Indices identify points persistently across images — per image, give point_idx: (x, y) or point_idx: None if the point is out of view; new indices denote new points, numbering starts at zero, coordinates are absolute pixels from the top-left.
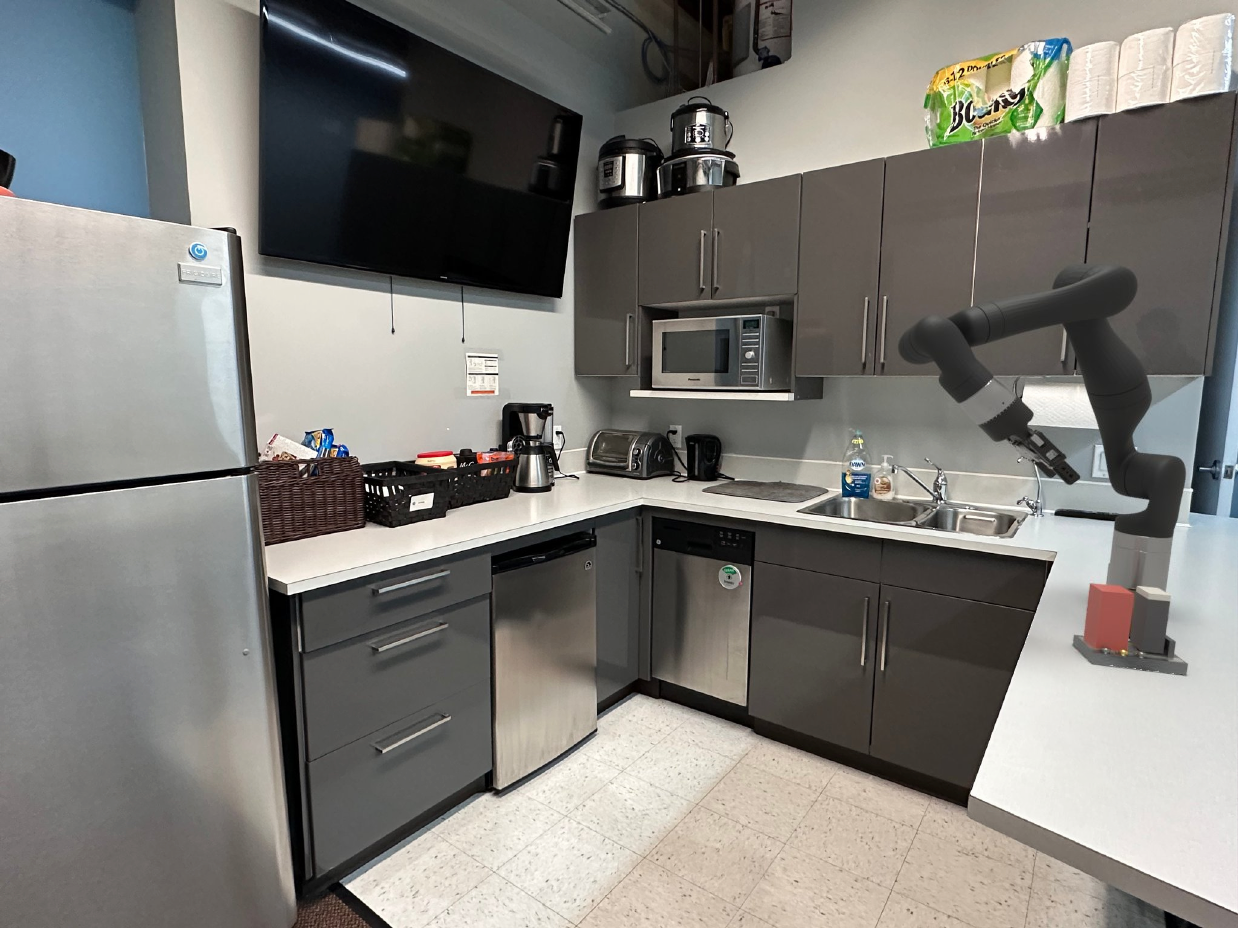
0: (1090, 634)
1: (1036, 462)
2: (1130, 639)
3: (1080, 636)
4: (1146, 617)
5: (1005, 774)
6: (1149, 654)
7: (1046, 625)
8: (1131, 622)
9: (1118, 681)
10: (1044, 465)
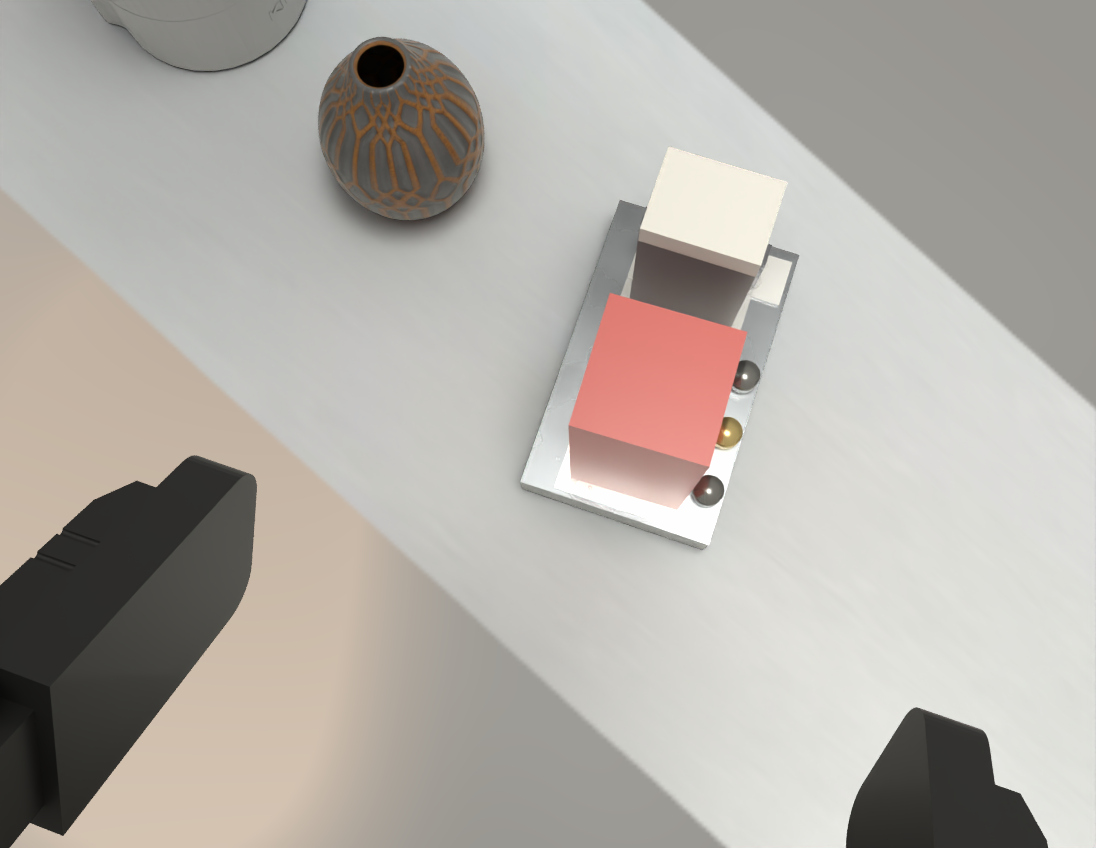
0: (624, 487)
1: (63, 817)
2: None
3: (542, 469)
4: (740, 306)
5: None
6: None
7: (309, 442)
8: (466, 181)
9: (850, 566)
10: (137, 686)
